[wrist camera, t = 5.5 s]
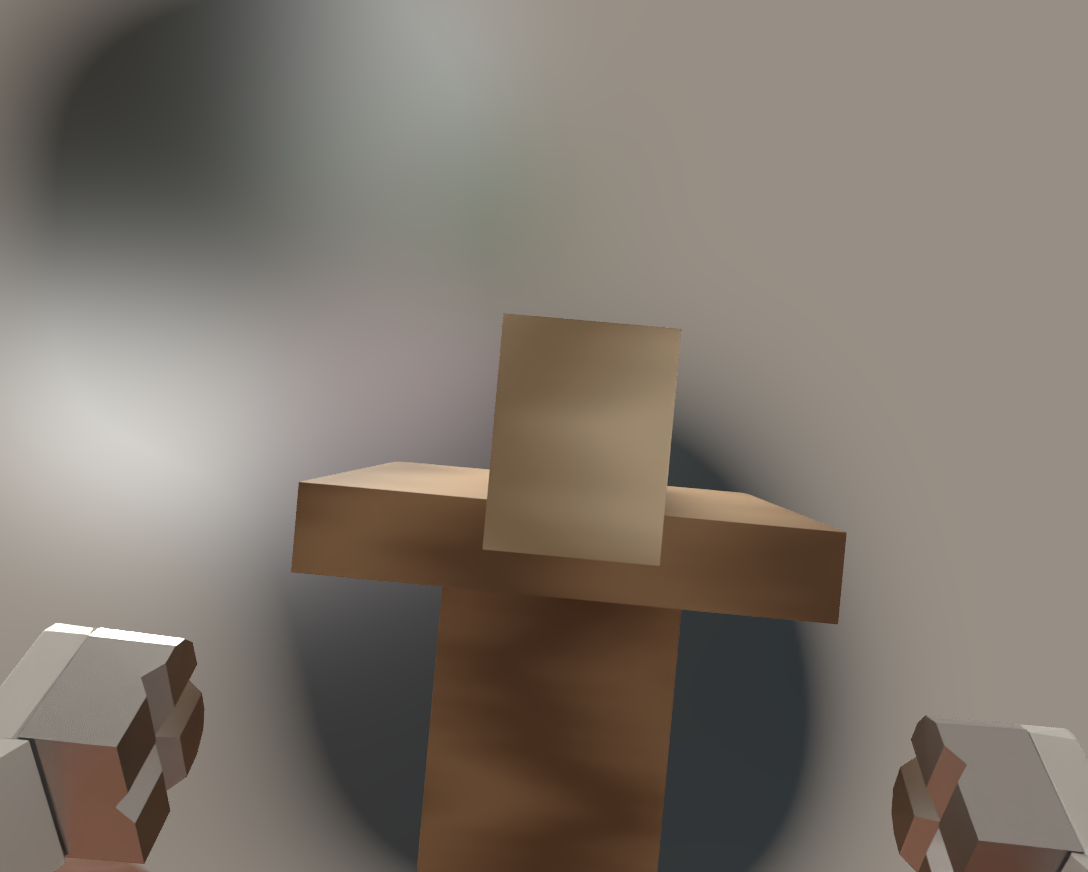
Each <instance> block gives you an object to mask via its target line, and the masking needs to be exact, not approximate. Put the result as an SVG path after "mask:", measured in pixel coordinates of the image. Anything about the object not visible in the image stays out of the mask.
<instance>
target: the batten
mask: <svg viewBox="0 0 1088 872" xmlns="http://www.w3.org/2000/svg"><path fill="white" fill-rule="evenodd" d="M680 339H681V329H675V328H664V327H653V326H642V325H630V324H618V323H607V322H596V321H584V320H573V319H561V318H549V317H538V316H526V315H515V314H503V326H502V337H501V349H500V360H499V371H498V381H497V393H496V404H495V415H494V426H493V437H492V449H491V460H490V471H489V482H488V493H487V504H486V515H485V527H484V538H483V549H484V550H495V551H505V552H516V553H527V554H537V555H548V556H559V557H569V558H580V559H591V560H601V561H612V562H622V563H633V564H644V565H654V566H660V556H661V545H662V534H663V523H664V513H665V502H666V491H667V479H668V469H669V458H670V447H671V436H672V426H673V415H674V404H675V393H676V381H677V372H678V361H679V349H680Z"/></svg>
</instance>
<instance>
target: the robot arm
mask: <svg viewBox="0 0 1088 872" xmlns="http://www.w3.org/2000/svg"><path fill="white" fill-rule="evenodd" d="M196 665H197V661H196V656H195V652H194V647H193V643H192V642H190V641H188V640H186V639H182V638H174V637H167V636H159V635H150V634H143V633H136V632H127V631H120V630H113V629H105V628H99V629H98V628H90V627H82V626H75V625H67V624H60V623H56V624H54V625H53V626H51V627H49V628H47V629H46V630H44V631H43V632H42V633H41V634H40V636H39V637H38V638H37V640H36V641H35V642H34V643H33V645H32V646H31V647H30V649H29V650H28V651H27V653H26V654H25V655H24V656H23V658H22V659H21V661H20V662H19V663H18V664H17V666H16V667H15V668H14V670H13V671H12V672H11V673H10V675H9V676H8V677H7V679H6V680H5V681H4V683H3V684H2V685H1V686H0V872H54V871H55V870H57V869H58V868H59V867H60V866H61V865H63V864H64V863H65V857H67V858H79V859H91V860H103V861H115V862H127V863H139V864H144V863H145V861H146V859H147V857H148V855H149V853H150V851H151V849H152V847H153V845H154V843H155V841H156V839H157V837H158V835H159V833H160V831H161V829H162V827H163V825H164V823H165V820H166V818H167V816H168V814H169V812H170V807H169V802H168V797H167V792H166V791H167V790H168V789H170V788H171V787H172V786H174V785H175V784H177V783H178V782H180V781H181V780H182V779H184V778H185V777H187V775H188V773H189V770H190V768H191V766H192V764H193V762H194V759H195V757H196V755H197V752H198V748H199V744H200V740H201V736H202V732H203V724H204V704H203V698H202V693H201V692H200V691H199V690H198V689H197V688H196V687H195V686H194V685H193V684H192V683H191V682H190V681H189V679H190V677H191V675H192V673H193V671H194V669H195V667H196ZM911 741H912V744H913V747H914V750H915V754H916V757H915V758H914V759H912V760H911V761H909V762H908V763H906V764H904V765H903V766H901V767H900V770H899V773H898V776H897V779H896V782H895V785H894V788H893V800H892V821H893V829H894V835H895V839H896V843H897V847H898V851H899V854H900V855H901V856H902V857H903V858H904V859H905V861H906V862H907V863H908V864H909V865H910V866H911V867H912V868H913V869H914V870H915V871H916V872H1088V760H1087V758H1086V756H1085V754H1084V752H1083V750H1082V748H1081V746H1080V744H1079V743H1078V741H1077V739H1076V737H1075V736H1074V735H1073V734H1072V733H1071V732H1069V731H1068V730H1067V729H1063V728H1052V727H1042V726H1031V725H1021V724H1019V725H1014V724H1010V723H999V722H989V721H977V720H966V719H957V718H947V717H935V716H924V717H923V718H922V720H920V721H919V722H918V724H917V726H916V728H915V731H914V733H913V736H912V738H911Z"/></svg>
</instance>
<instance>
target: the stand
mask: <svg viewBox="0 0 1088 872" xmlns="http://www.w3.org/2000/svg"><path fill="white" fill-rule="evenodd" d="M489 471H490V470H486V469H475V468H465V467H453V466H443V465H432V464H421V463H410V462H399V461H397V462H392V463H387V464H383V465H378V466H373V467H368V468H363V469H358V470H354V471H349V472H344V473H340V474H335V475H330V476H325V477H320V478H315V479H310V480H306V481H301V482H299V488H298V499H297V511H296V522H295V534H294V545H293V557H292V568H291V572H294V573H305V574H315V575H326V576H337V577H347V578H357V579H368V580H378V581H389V582H399V583H410V584H420V585H431V586H442V596H441V608H440V618H439V631H438V641H437V653H436V663H435V675H434V686H433V697H432V709H431V720H430V731H429V743H428V753H427V765H426V776H425V787H424V799H423V810H422V821H421V832H420V843H419V854H418V866H417V872H657V868H658V867H657V866H658V855H659V846H660V835H661V824H662V814H663V802H664V792H665V781H666V770H667V758H668V749H669V738H670V727H671V726H670V725H671V715H672V706H673V695H674V683H675V673H676V672H675V671H676V661H677V651H678V640H679V630H680V619H681V609H683V610H694V611H704V612H715V613H726V614H736V615H746V616H757V617H767V618H778V619H788V620H799V621H810V622H821V623H831V624H838V617H839V607H840V596H841V585H842V575H843V564H844V553H845V542H846V532H844V531H841V530H839V529H836V528H833V527H831V526H828V525H826V524H823V523H821V522H818V521H815V520H813V519H810V518H808V517H805V516H802V515H800V514H797V513H795V512H792V511H789V510H787V509H784V508H782V507H780V506H777V505H774V504H772V503H769V502H767V501H764V500H762V499H759V498H756V497H754V496H751V495H749V494H746V493H737V492H726V491H715V490H703V489H693V488H683V487H672V486H667V491H666V502H665V513H664V523H663V534H662V545H661V556H660V566H654V565H644V564H633V563H622V562H612V561H601V560H591V559H580V558H569V557H559V556H548V555H537V554H527V553H516V552H505V551H495V550H484V549H483V538H484V527H485V515H486V504H487V493H488V482H489Z"/></svg>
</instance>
